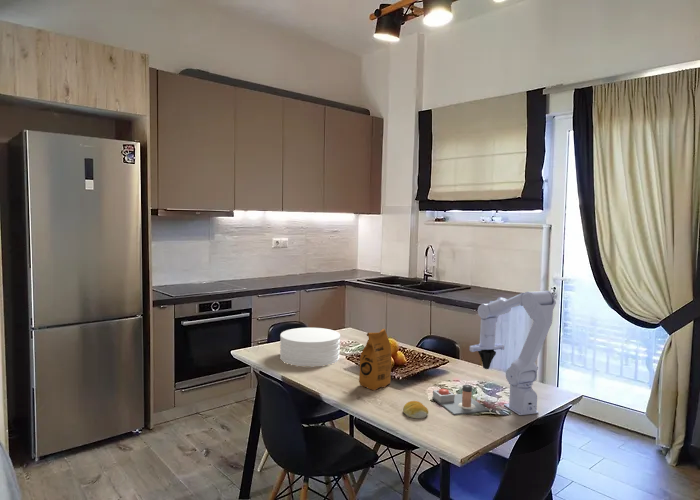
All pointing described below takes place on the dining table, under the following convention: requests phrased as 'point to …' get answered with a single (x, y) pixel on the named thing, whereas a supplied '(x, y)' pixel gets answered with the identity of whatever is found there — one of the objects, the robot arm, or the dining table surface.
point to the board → (457, 403)
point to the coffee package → (376, 361)
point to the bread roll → (415, 410)
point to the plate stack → (310, 346)
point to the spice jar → (466, 395)
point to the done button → (443, 391)
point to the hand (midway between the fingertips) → (486, 368)
